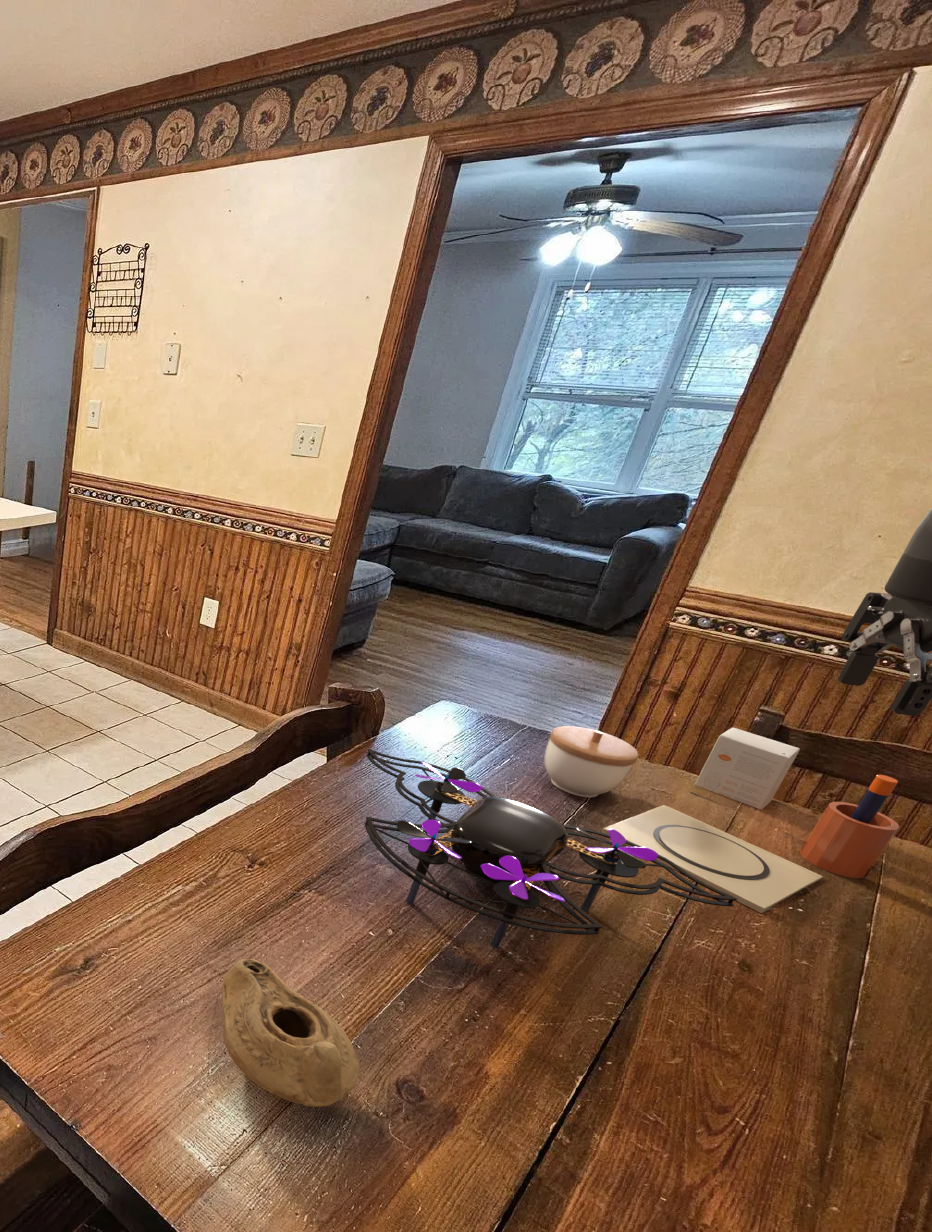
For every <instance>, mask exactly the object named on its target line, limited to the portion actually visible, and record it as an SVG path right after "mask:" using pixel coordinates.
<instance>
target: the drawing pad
mask: <svg viewBox="0 0 932 1232" xmlns="http://www.w3.org/2000/svg"><path fill="white" fill-rule="evenodd" d="M609 829H614V830H616V831H618V832H619V833H621V834H622V835H623V836H624V838H625V839H626V841H629V842H631V843H634V844H636V845H639V846H641V847H646V848H649V849H652V850H654V851H655V852H656V853H658V854H659V855H661V856H663V857H665V858H667V859H668V860H670V861H672V862H673V863H675V864H676V865H677V866H679V867H680V868H681V869H683V870H684V871H685V872H687V873H688V874H690V875H691V876H693V877H695V878H696V879H698V880H700V881H701V882H703V883H705V884H707V885H709V886H711V887H713V888H715V889H717V890H719V891H721V892H724V893H726V894H728V895H731V896H733V897H735V898H737V900H735V901H736V902H738V903H740V904H741V905H744V906H745V907H748V908H750V909H752V910H753V911H756V912H757V913H759V914H763V913H766V912H767V911H769V910H771V909H772V908H773V906H776V905H777V904H779V903H780V902H782V901H784V900H786V899H788V898H790V897H791V896H794V895H795V894H797V893H799V892H801V891H802V890H804V889H806V888H808V887H810V886H812V885H813V884H815V883H817V882H818V881H821V880H822V879H823V878H824V876H823V875H822V874H819V873H817V872H814V871H812V870H810V869H808V868H805V867H803V866H801V865H799V864H797V863H795V862H793V861H790V860H787V859H786V858H783V857H781V856H779V855H778V854H775V853H772V852H770V851H768V850H766V849H763V848H761V847H759V846H757V845H754V844H752V843H750V842H748V841H746V840H744V839H741V838H739V837H736V836H735V835H732V834H730V833H728V832H726V831H723V830H721V829H719V828H717V827H714V826H713V825H710V824H708V823H706V822H704V821H701V820H699V819H697V818H695V817H693V816H690V815H688V814H687V813H683V812H681V811H679V810H677V809H675V808H672V807H670V806H668V805H666V804H663V805H660V806H658V807H655V808H652V809H650V810H647V811H645V812H642V813H639V814H637V815H634V816H631V817H629V818H626V819H623V820H621V821H618V822H616V823H613V824H611V825H608V826H606V827H603V828H602V829H601V833H605V834H608V835H609V832H608V830H609ZM623 845H624V846H626V847H633V846H630V845H628V844H625V843H624V844H623ZM656 860H657V861H659V862H661V863H663V864H664V865H666V866H668V867H669V868H671V869H672V870H673V871H675V872H677V873H678V872H679V871H678V870H676V869H675V868H674V867H672V866H671V865H670V864H668V863H667V862H665V861H663V860H661V859H659V858H657V859H656ZM679 873H680V872H679Z"/></svg>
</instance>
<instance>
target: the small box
mask: <svg viewBox="0 0 932 1232" xmlns="http://www.w3.org/2000/svg"><path fill="white" fill-rule="evenodd" d="M799 753H800V747H796V746H793V745H790V744H786V743H784V742H781V741H778V740H774V739H771V738H767V737H765V736H762V735H758V734H755V733H752V732H749V731H746V730H742V729H739V728H737V727H730V728H729V729H727V730H726V731H724V732H723V733H721V734H720V735H719V736H718V738H717V739H716V742H715V743H714V746H713V748H712V750H711V751H710V753H709V756H708V757H707V759H706V761H705V763H704V765H703V767H702V769H701V771H700V773H699V775H698V777H697V779H696V781H695V783H694V786H697V787H699V788H702V789H704V790H707V791H710V792H713V793H714V794H715V793H716V794H718V795H721V796H724V797H727V798H729V799H731V800H734V801H737V802H739V803H741V804H745V805H747V806H749V807H751V808H756V809H758V810H763V809H764V808H765V807H767V806H768V805H769V804H770V803H771V802H772V801H773V799H774V797H775V795H776V793H777V791H778V790H779V788H780V786H781V784H782V783H783V781H784V778H785V777H786V775H787V773H788V772H789V770H790V768H791V766H792V765H793V763H794V761H795V760H796V758H797V755H798V754H799ZM689 792H690V794H692V795H694V796H695V797H696V796H697V797H699V798H702V799H704V800H707V801H709V802H712V803H714V804H718V805H719V803H718V802H715V801H714V800H711V799H709V798H706V797H704V796H702V795H699V794H697V793H694V792H692V791H689ZM721 806H722V807H724V805H722V804H721Z"/></svg>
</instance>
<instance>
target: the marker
mask: <svg viewBox="0 0 932 1232" xmlns="http://www.w3.org/2000/svg"><path fill="white" fill-rule="evenodd" d="M898 783H899V780H898V779H896V778H893V777H891V776H888V775H884V774H876V776H875V778H874V779H873V781H872V782H871V783H870V785H869V787H868V789H867V791H866V793H865V794H864V795H863V797H862V799H860V802H859V803H858V804H857V805H858V806H857V808H856V809H855V811H854V813H853V814H852V816H851V817H850V818H852V819H855V820H857V821H860V822H863V823H867V824H870V823H871V821H872V820H873V818H874V817H875V815H876V814H877V812H880V809H881V808H882V806H883V805H884V803H885V802H886V800H887V799H888V798H889V796H890V795H891V794H892V792H893V791H894V789H896V786H897V785H898Z"/></svg>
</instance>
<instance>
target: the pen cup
mask: <svg viewBox="0 0 932 1232" xmlns="http://www.w3.org/2000/svg"><path fill="white" fill-rule="evenodd" d="M858 805H859V804H855V803H851V802H850V803H849V802H845V801H832V802H830V803H828V804H827V806H826V808H825V809H824V811H823V812H822V813H821V815H820V817H819V818H818V821H817V822H816V823H815V826H814V827H813V829H812V830H811V831H810V833H809V835H808V837H807V838H806V839H805V841H804V843H803V844H802V846H801V847H800V849H799V855H800V856H801V857H802V858H803V859H804V860H805V861H807V862H808V863H810V864H812V865H813V866H815V867H816V868H820V869H821V870H824V871H826V872H829V873H831V874H834V875H838V876H841V877H845V878H850V879H863V878H865V877H867V876H868V874H869V873H870V872H871V871H872V869H871V868H874V866H875V864H876V863H877V861H878V860H879V859H880V857H881V855H882V854H883V853H884V851H885V850H886V848H887V847H888V845H889V844H890V843H891V841H892V839H893V838H894V837H895V835H896V834H897V832H898V830H899V829H900V825H899V823H898V822H897V821H895V820H894V819H893V818H891V817H890V816H887V815H885V814H884V813H882V812H880V811H878V812H877V814H876V815H875V817H874V818H873V820H872V821H871V823H870V824H867V823H863V822H860V821H857V820H855V819H852V818H850V817H851V816H852V814H853V813H854V811H855V809H856V808H857V806H858Z"/></svg>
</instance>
